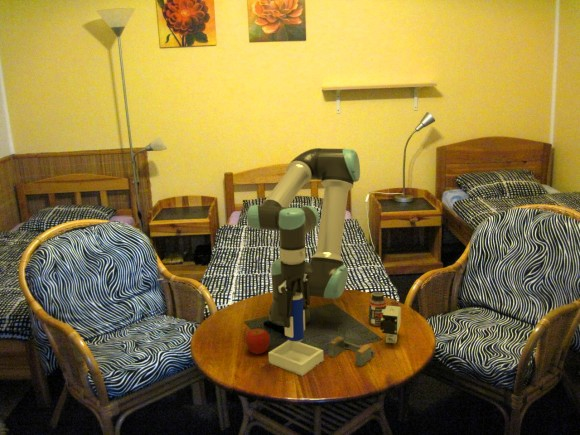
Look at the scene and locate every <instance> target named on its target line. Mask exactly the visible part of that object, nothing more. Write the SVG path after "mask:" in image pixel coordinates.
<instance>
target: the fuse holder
mask: <svg viewBox="0 0 580 435" xmlns="http://www.w3.org/2000/svg"><path fill="white" fill-rule="evenodd" d="M345 348H346V350H348V349H349V350H348V351H351V350H352V352H355V366H357V367H359V366H360V368H362V367H363V366H364V365H366V364H367V363H368V362H370V360H372V358H375V351H376V350H373V349H372V346H370V345H368V344H364V345H363V346H361V345H359V344H355V343H352V342H349V341H346V340H345V338H343V337H342V336H340V335H339V336H336V337H335V338H333V339H332V340H331V341H329V343H328V357H331V356H332V357H331V358H335V357H337V356H338V355H339V354H341V353H342V352H343V351H345ZM341 351H342V352H341ZM340 352H341V353H340ZM337 354H338V355H337ZM336 355H337V356H336Z"/></svg>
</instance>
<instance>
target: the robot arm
mask: <svg viewBox="0 0 580 435" xmlns="http://www.w3.org/2000/svg"><path fill="white" fill-rule="evenodd" d="M360 166H361V165H360V158H359V156H358V153H357V151H356V150H355V149H352V148H345V147H343V148H325V147H324V148H320V147H316V148H310V149H308V150H305V151H304V152H302V153H299V155H297V156H295V157H293V159H292V160H291V161H290V162H289V163H288V165H287V166H286V172H285V173H284V175H282V177H281V179H280V180H279V181H278V183H277V184H276V185H275V187H273V189H272V190H271V192H270V193H269V194H268V196H267V197H266V199H265V200H264V201H263V203H262V204H260V205H259V204H255V205H250V206H249V208H248V209H247V213H246V222H247V225H248V227H249V228H250V229H256V230H264V231H277V232H279V233H278V234H279V258H278V259H276V260H274V261H273V262H272V264H271V288H272V290H271V291H272V301H271V304H270V308H269V311H268V321H269V320H276V321H282V322H284V327H283V328H284V336H286V337H287V336H288V337H291V338H292V337H293V317H292V316H291V312H292V305H293V296H294V295H295V293H296V292H299V293H302V295H303V322H304V331H305V330H306V324H308V323H309V322H310V320H311V312H310V309H309V306H310V304H311V300H310V299H311V297H316V298H324V299H334V300H335V299H339V298H340V297H341V296H342V295H343V293H344V291H345V289H346V287H347V286H346V285H347V281H348V273H349V269H348V267H347V266H346V265H344V263H345V261H344V260H343V258H342V257H341V254H342V253H341V252H342V244H343V243H342V242H343V234H344V228H345V227H344V226H345V221H346V211H347V206H348V205H347V203H348V197H349V195H348V194H349V191H350V190H352V189H353V187H354V183H356V182H358V181H360V177H361V176H360V175H361V167H360ZM315 180H316V181H317V180H318V181H320V184H321V185H322V186H323V188H324V192H323V199H322V207H321V212H320V213H319V211H318V210H317V209H316V208H315V207H313V206H311V205H303V206H301V207H289V206H290V205H291V203H292V202H293V200H294V199H295V198H296V196H297V195H298V193H299V192H300V191H301V189H302V188H303V186H304V185H307V184H308V183H309V182H311V181H315ZM318 224H319V228H318V229H319V230H318V236H317V243H316V244H317V245H316V251H315V253H314V254H313V255H312V256H311V258H310V262H306V235H307V234H308V233H310V232H312V231H313V230H314V229H315V228H316V226H317V225H318ZM307 322H308V323H307Z"/></svg>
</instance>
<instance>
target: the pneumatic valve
mask: <svg viewBox="0 0 580 435" xmlns="http://www.w3.org/2000/svg"><path fill="white" fill-rule="evenodd" d="M382 313H383V316H382V319H381V324H380V326H379V327H380V331H381V332H382V334H385V343H387V344H388V343H389V344H397V340H398V333H399V328H400V326H401V321H402V306H401V305H395V304H394V305H393V304H392V305H391V304H386V309H383V310H382Z"/></svg>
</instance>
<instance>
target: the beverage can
mask: <svg viewBox="0 0 580 435" xmlns="http://www.w3.org/2000/svg"><path fill="white" fill-rule="evenodd" d="M291 316H292V317H293V337H292V338H291V337H288V336H286V338H287V341H288V340H289V341H290V342H302V341H303V339H305V334H304V333H305V330H304V322H303V295H302V293H299V292H296V293H295V295H294V296H293V305H292V312H291Z"/></svg>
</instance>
